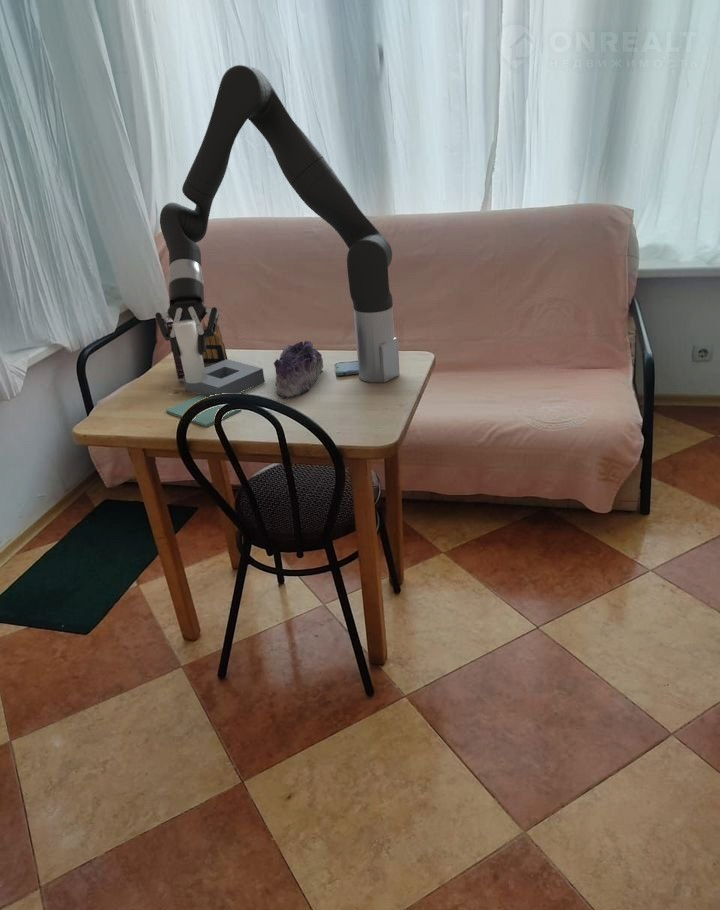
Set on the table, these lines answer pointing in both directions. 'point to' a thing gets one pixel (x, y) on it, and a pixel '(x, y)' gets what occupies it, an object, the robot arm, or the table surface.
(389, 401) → the table surface
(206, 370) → the grey square socket block
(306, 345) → the geode
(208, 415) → the mat
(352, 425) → the table surface
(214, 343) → the ammunition clip
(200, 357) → the plug
